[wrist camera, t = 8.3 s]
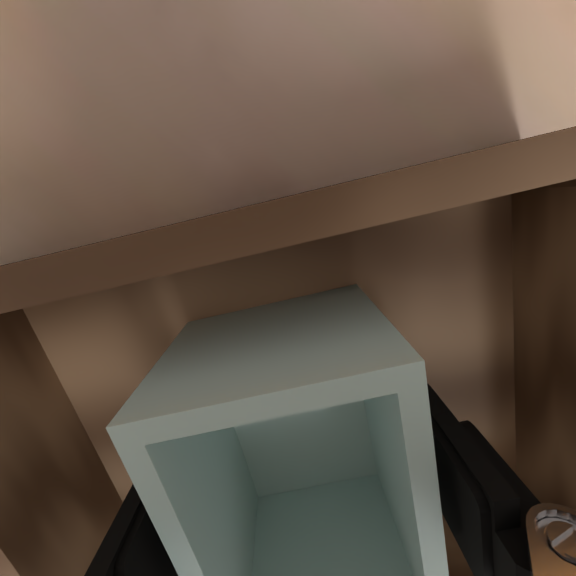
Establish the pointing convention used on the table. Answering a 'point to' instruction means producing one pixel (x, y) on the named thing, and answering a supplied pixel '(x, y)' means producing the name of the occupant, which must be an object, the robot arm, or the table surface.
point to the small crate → (288, 444)
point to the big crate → (286, 285)
